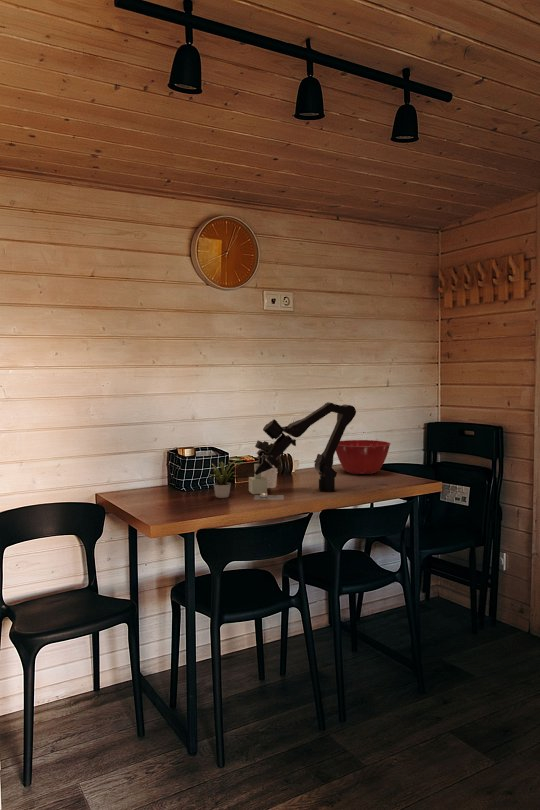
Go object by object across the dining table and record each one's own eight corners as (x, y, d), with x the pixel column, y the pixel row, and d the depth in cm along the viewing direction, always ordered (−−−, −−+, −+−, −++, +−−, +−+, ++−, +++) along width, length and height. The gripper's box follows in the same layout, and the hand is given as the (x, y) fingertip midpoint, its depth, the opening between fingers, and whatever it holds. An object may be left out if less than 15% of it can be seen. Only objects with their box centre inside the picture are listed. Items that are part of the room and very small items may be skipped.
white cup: (275, 489, 281) (275, 466, 281) (258, 488, 283) (258, 466, 282) (278, 485, 289) (278, 463, 288) (261, 485, 291) (261, 463, 290)
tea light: (267, 496, 261) (267, 492, 260) (267, 498, 258) (267, 494, 257) (260, 496, 261) (260, 492, 261) (260, 498, 258) (260, 494, 258)
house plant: (246, 495, 268) (246, 457, 267) (238, 502, 254) (237, 462, 253) (213, 494, 271) (213, 456, 270) (204, 501, 257) (203, 461, 256)
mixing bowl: (328, 468, 334) (328, 439, 333) (381, 467, 337) (381, 438, 336) (340, 478, 306) (340, 446, 305) (397, 477, 309) (397, 445, 308)
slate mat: (283, 497, 264) (283, 495, 264) (283, 502, 255) (283, 499, 255) (254, 497, 264) (254, 495, 264) (253, 502, 255) (253, 499, 255)
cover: (263, 492, 274) (263, 462, 273) (267, 495, 268) (266, 464, 267) (248, 493, 272) (248, 463, 272) (252, 496, 266) (252, 465, 265)
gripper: (261, 431, 279) (236, 457, 276) (272, 436, 261) (246, 464, 258) (278, 448, 281) (254, 474, 279) (290, 454, 263) (265, 482, 261)
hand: (254, 473), depth 269 cm, fingers closed on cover, 2 cm apart
